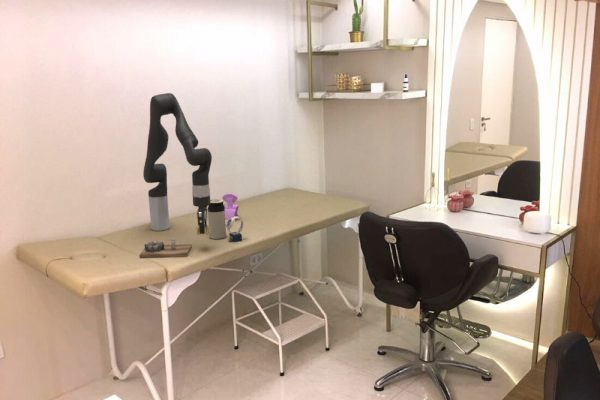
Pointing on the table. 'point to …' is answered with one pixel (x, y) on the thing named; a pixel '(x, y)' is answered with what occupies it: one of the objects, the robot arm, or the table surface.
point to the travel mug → (217, 219)
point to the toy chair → (230, 205)
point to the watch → (234, 235)
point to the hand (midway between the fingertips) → (203, 231)
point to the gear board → (165, 250)
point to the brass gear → (207, 230)
